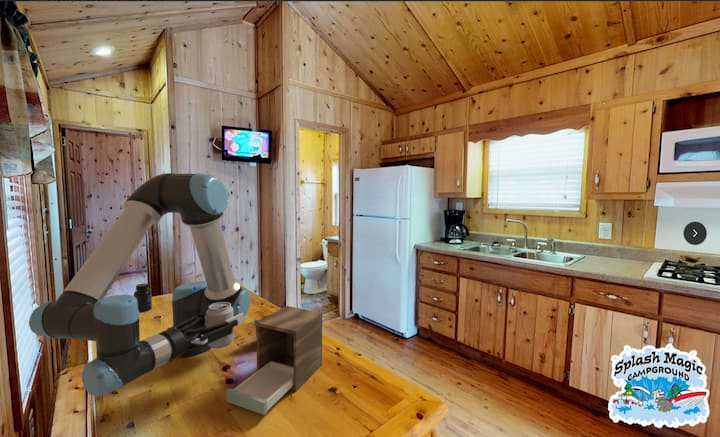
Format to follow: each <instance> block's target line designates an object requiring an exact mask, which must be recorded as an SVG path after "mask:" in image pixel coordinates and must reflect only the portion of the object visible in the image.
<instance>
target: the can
mask: <svg viewBox="0 0 720 437" xmlns="http://www.w3.org/2000/svg"><path fill="white" fill-rule="evenodd" d="M208 308H209V309H208V310H207V311H206V328H208V327H211V326H215V325H218V324H222V323H225V321H226V320H228V319H230V318H232V317H234V312H233V307H231V304H230V303H228V302H218V303H214V304H211V305H210V306H209V307H208ZM234 334H235V327H233V328H232V334H230V335H227V336H225V337H223V338H220V339H218V340H216V341H214V342H211V343H209V344H208V345H209V346H210V347H212V348H211V349H222V348H225V347H228V346H230V345H231V343H232V342H233V341H234V339H235V335H234Z"/></svg>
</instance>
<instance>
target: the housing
mask: <svg viewBox="0 0 720 437" xmlns="http://www.w3.org/2000/svg"><path fill="white" fill-rule="evenodd" d="M266 316H267V317H266ZM266 316H265V317H266V318H264V317H263V318H264V319H263V318H261V319H262V320H261V319H259V320H260V321H258V322H257V338H256V372H257V371H258V370H259V369H260V368H262V367H263V366H264V365H266V364H267V363H268V362H270V361H273V362H277V363H281V364H284V365H288V366H292V367H294V385H293V386H292V387H291V388H290V389H289V390H288V391H292V392H297V391H298V390H300V388H301V387H302V386H304V385H305V383H306V382H307V381H308V380H309V379H310V378H311V377H312V376H313V375H315V373H316V372H317V371H319V369H320V368H322V366H323V312H320V311H314V310H311V309H310V310H309V309H304V308H300V307H299V308H298V307H294V306H289V305H285V306H284V307H281V308H280V309H277V310H276V311H275V312H272V313H271V314H269V316H268V315H266Z"/></svg>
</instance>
